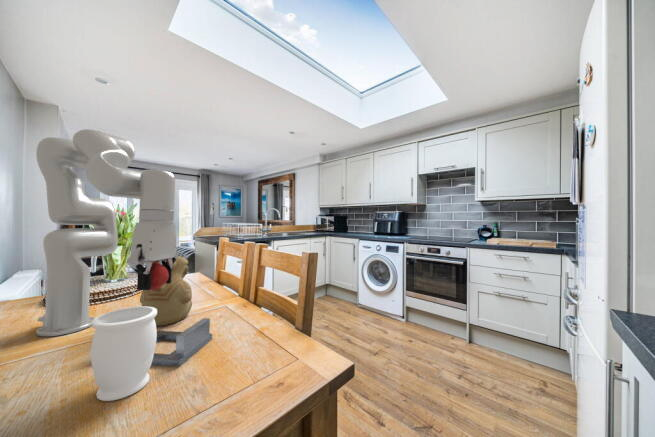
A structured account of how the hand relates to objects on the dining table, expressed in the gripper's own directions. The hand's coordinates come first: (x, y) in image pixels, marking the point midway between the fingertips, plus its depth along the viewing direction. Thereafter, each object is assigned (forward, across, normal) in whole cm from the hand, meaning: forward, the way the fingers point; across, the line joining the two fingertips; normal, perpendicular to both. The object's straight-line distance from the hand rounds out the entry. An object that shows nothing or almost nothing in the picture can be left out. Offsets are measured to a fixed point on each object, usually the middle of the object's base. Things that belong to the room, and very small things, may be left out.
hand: (155, 285), depth 63 cm
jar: (+18, +12, +5) cm, 22 cm away
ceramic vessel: (+18, -20, -14) cm, 30 cm away
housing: (+18, -2, 0) cm, 18 cm away
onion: (+2, 0, 0) cm, 2 cm away
